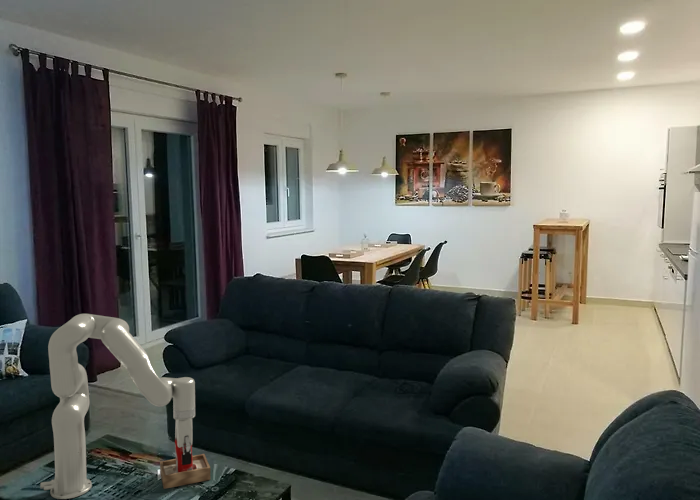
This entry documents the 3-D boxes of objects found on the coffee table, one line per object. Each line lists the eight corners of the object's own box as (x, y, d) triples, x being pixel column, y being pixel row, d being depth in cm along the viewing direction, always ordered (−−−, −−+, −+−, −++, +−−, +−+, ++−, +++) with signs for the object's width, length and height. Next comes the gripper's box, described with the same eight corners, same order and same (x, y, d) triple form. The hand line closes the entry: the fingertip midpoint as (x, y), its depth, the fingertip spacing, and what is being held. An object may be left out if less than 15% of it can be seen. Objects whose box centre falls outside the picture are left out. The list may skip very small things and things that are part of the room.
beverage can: (195, 472, 199) (195, 432, 198) (188, 481, 193) (188, 440, 192) (180, 471, 200) (179, 432, 198) (172, 480, 193) (172, 439, 192)
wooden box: (163, 488, 187) (163, 476, 187) (160, 473, 198) (159, 461, 198) (210, 479, 194) (210, 467, 194) (204, 465, 205) (204, 453, 204)
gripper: (170, 406, 200) (171, 450, 202) (176, 422, 185) (177, 471, 186) (191, 403, 203) (191, 447, 205) (199, 419, 188) (199, 466, 189)
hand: (184, 458), depth 195 cm, fingers open, 9 cm apart
